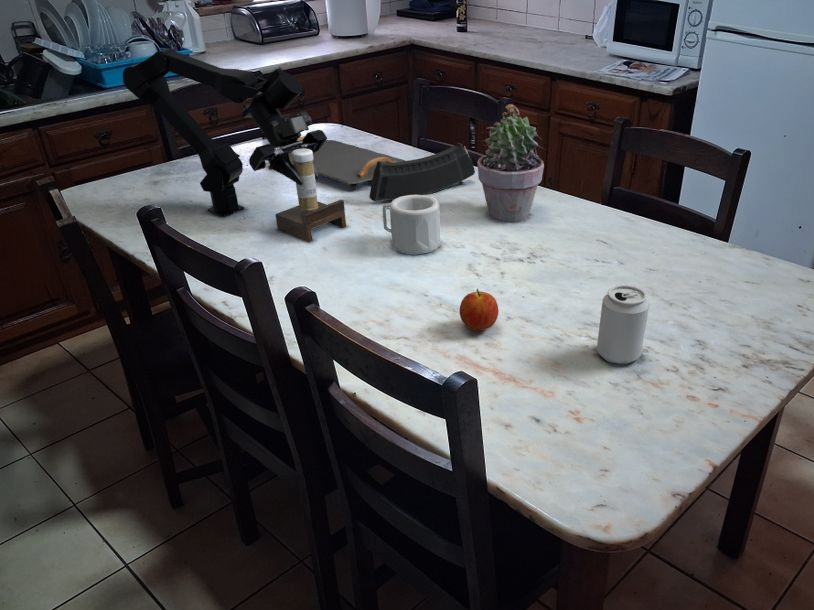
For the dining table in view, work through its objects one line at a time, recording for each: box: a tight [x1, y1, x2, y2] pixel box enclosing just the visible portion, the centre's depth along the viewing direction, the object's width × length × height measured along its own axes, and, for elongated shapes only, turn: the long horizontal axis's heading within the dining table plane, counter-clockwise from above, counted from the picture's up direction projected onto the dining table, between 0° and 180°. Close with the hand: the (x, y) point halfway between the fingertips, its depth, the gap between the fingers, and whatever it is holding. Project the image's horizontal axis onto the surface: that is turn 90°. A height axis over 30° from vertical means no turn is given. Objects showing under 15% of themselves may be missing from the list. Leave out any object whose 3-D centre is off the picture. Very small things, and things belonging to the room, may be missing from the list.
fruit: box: [459, 288, 499, 332], centre depth 125 cm, size 7×7×8 cm
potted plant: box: [477, 103, 548, 224], centre depth 164 cm, size 18×20×25 cm
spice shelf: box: [274, 199, 347, 243], centre depth 163 cm, size 11×12×6 cm
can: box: [596, 284, 650, 365], centre depth 116 cm, size 8×8×12 cm
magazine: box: [368, 142, 476, 202], centre depth 181 cm, size 17×3×30 cm
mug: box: [382, 195, 441, 255], centre depth 154 cm, size 14×11×10 cm
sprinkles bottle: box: [292, 149, 318, 212], centre depth 158 cm, size 5×5×13 cm
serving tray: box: [289, 135, 406, 192], centre depth 198 cm, size 39×23×6 cm, turn 51°
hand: (309, 181), depth 157 cm, fingers closed on sprinkles bottle, 4 cm apart
